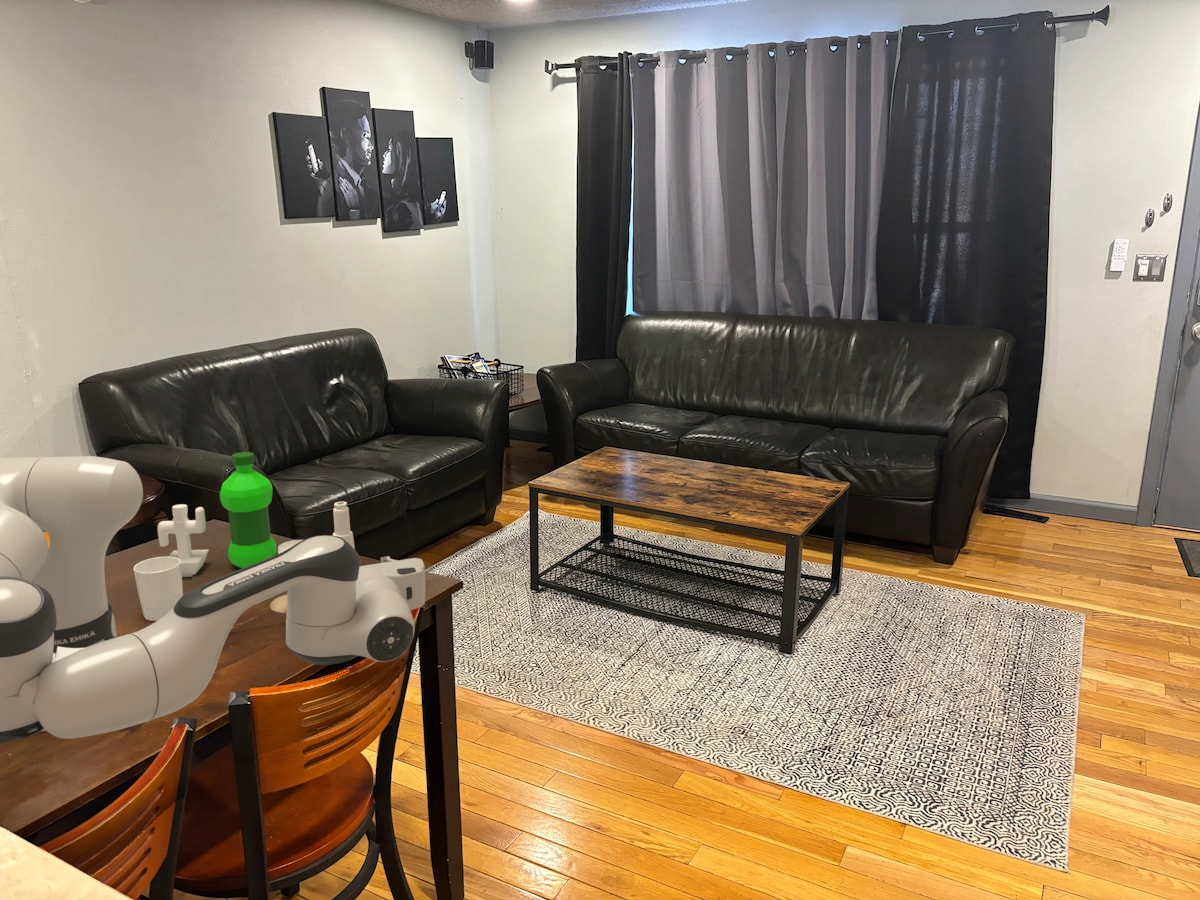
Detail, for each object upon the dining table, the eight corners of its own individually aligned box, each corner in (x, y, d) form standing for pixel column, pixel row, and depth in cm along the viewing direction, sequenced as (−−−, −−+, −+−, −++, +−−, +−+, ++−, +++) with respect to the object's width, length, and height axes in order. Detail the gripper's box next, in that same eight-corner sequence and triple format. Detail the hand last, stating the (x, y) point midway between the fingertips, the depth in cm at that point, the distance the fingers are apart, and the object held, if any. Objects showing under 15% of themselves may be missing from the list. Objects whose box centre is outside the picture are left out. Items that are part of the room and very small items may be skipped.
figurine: (170, 566, 184) (161, 500, 180) (216, 565, 185) (208, 499, 181) (157, 580, 177) (148, 511, 173) (205, 578, 178) (197, 510, 174)
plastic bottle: (289, 560, 188) (279, 450, 181) (257, 579, 178) (245, 463, 172) (251, 554, 191) (240, 446, 184) (217, 572, 181) (204, 458, 175)
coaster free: (272, 619, 161) (271, 616, 161) (268, 599, 169) (268, 597, 169) (322, 610, 165) (321, 607, 165) (316, 592, 173) (315, 589, 172)
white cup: (168, 625, 158) (161, 574, 156) (130, 620, 160) (123, 570, 157) (195, 606, 166) (189, 558, 163) (159, 602, 167) (153, 554, 165)
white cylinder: (282, 586, 174) (279, 554, 172) (279, 573, 180) (276, 542, 178) (318, 581, 176) (315, 549, 174) (314, 568, 182) (311, 537, 181)
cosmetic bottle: (339, 604, 168) (331, 497, 162) (369, 605, 167) (362, 498, 161) (326, 618, 162) (317, 507, 156) (357, 620, 161) (350, 509, 155)
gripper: (305, 626, 134) (296, 591, 147) (434, 603, 143) (415, 572, 155) (301, 589, 133) (293, 556, 145) (432, 568, 141) (414, 539, 153)
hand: (357, 564), depth 150 cm, fingers open, 8 cm apart
